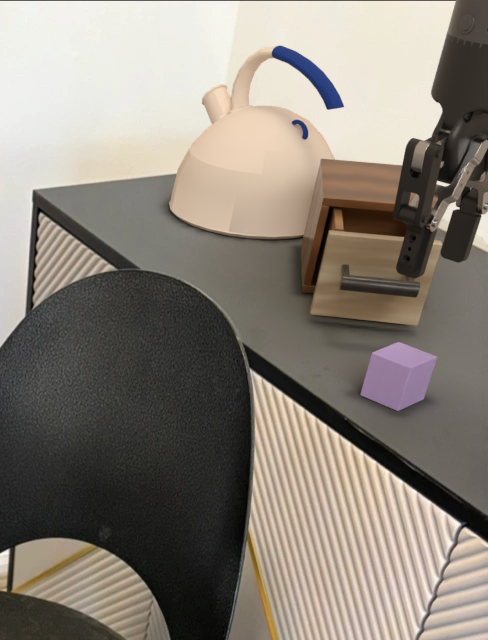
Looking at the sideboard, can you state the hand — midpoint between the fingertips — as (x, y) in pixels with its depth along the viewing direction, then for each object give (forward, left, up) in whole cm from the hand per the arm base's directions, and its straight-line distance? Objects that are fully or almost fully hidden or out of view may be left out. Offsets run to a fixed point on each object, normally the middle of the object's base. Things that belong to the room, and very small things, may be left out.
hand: (431, 266), depth 92 cm
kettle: (+14, -50, -12) cm, 53 cm away
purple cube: (0, 0, -12) cm, 12 cm away
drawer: (+2, -20, -11) cm, 23 cm away
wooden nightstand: (+2, -31, -12) cm, 33 cm away
